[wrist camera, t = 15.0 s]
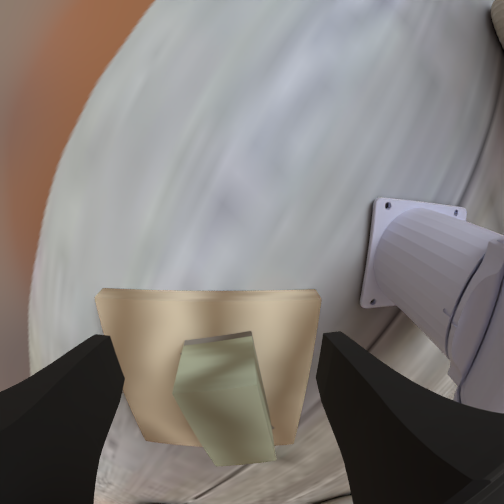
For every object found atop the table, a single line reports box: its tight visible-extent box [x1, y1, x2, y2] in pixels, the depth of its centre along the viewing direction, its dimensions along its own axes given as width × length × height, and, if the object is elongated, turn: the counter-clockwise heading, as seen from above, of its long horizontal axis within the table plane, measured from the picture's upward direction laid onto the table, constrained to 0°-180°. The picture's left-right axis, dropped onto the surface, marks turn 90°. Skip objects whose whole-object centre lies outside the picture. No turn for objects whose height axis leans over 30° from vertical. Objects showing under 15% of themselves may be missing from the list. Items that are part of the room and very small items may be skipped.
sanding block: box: [172, 331, 276, 466], centre depth 16 cm, size 4×9×5 cm, turn 10°
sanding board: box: [95, 288, 321, 447], centre depth 20 cm, size 15×17×2 cm
